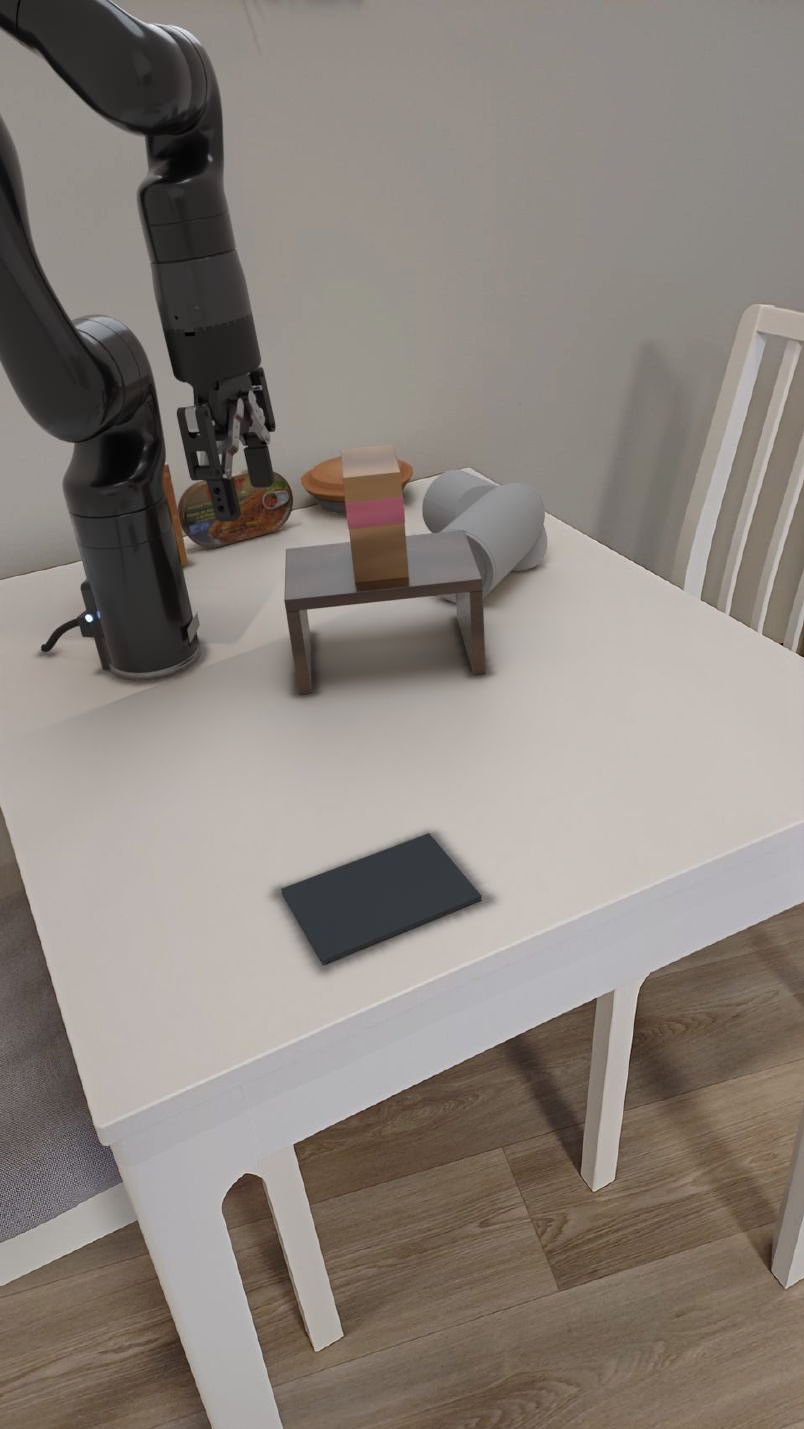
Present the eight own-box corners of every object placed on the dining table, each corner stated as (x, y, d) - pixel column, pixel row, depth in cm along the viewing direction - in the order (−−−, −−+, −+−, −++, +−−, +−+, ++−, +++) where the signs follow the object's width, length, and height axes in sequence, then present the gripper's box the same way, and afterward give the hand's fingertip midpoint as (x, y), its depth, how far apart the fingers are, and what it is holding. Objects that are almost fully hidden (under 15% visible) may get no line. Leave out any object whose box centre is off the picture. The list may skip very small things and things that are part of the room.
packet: (409, 577, 91) (401, 471, 86) (354, 583, 91) (342, 478, 86) (402, 543, 98) (393, 444, 93) (350, 549, 98) (339, 449, 92)
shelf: (486, 674, 95) (482, 578, 90) (299, 695, 95) (284, 600, 89) (468, 618, 105) (464, 529, 100) (299, 636, 105) (285, 548, 99)
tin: (189, 555, 126) (175, 491, 121) (181, 547, 128) (168, 484, 124) (298, 526, 131) (289, 464, 127) (289, 519, 133) (280, 458, 129)
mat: (323, 964, 65) (322, 960, 65) (281, 892, 71) (280, 888, 71) (482, 899, 69) (481, 895, 69) (429, 836, 75) (429, 832, 75)
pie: (372, 473, 147) (369, 439, 144) (437, 498, 136) (435, 462, 133) (283, 501, 140) (278, 467, 137) (344, 530, 129) (340, 493, 126)
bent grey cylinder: (598, 561, 111) (493, 512, 126) (584, 477, 105) (475, 436, 120) (473, 639, 107) (379, 579, 121) (451, 556, 100) (354, 503, 115)
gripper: (199, 302, 89) (238, 478, 97) (125, 337, 77) (176, 533, 86) (277, 294, 87) (310, 474, 95) (213, 329, 75) (257, 531, 83)
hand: (247, 502), depth 90 cm, fingers open, 8 cm apart
